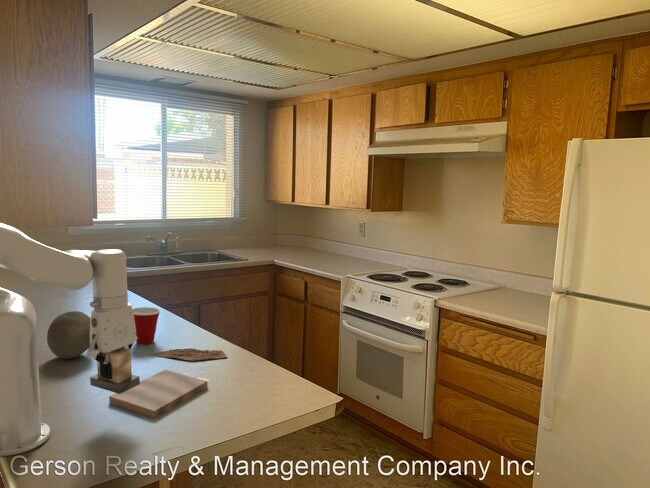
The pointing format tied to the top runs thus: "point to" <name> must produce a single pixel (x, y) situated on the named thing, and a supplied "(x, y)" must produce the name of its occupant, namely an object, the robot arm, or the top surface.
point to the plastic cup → (145, 324)
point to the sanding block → (117, 373)
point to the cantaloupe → (69, 334)
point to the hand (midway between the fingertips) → (114, 373)
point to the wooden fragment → (191, 354)
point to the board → (159, 393)
